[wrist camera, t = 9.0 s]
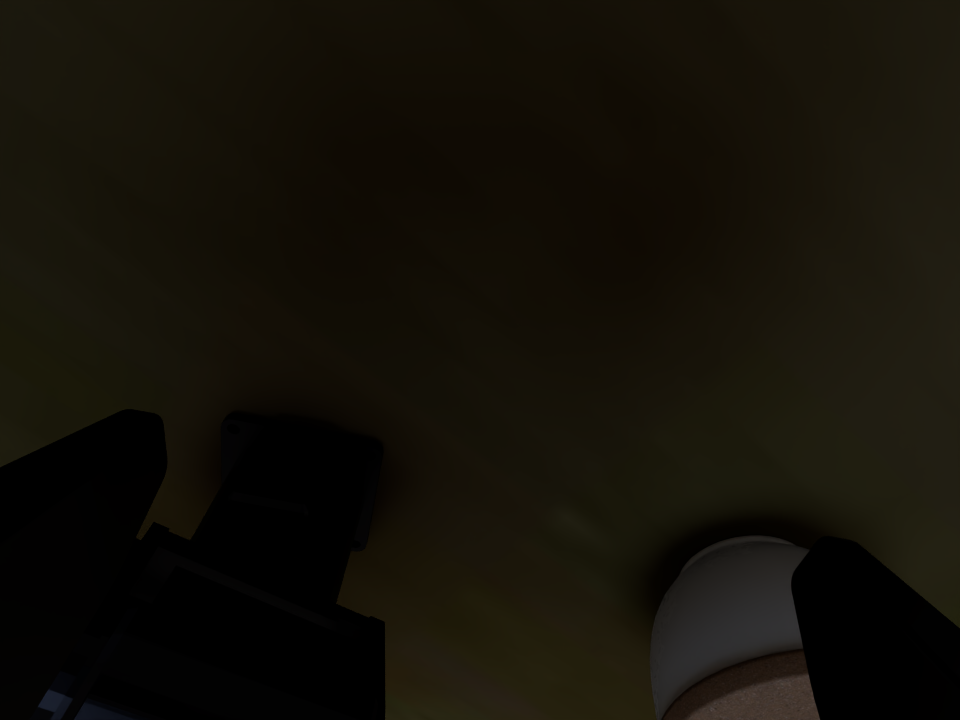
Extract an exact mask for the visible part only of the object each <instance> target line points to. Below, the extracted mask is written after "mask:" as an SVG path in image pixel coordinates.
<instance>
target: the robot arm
mask: <svg viewBox="0 0 960 720" xmlns="http://www.w3.org/2000/svg"><path fill="white" fill-rule="evenodd" d="M232 424H234V425H237V426H238V427H239V428H237V427H234V426H233V425H232ZM367 451H371V452H374V453H375V454H370V453H368V452H367ZM382 457H383V447H382V445H381V444H380V443H378V442H377V441H374V440H369V439H364V438H359V437H354V436H349V435H344V434H339V433H334V432H329V431H324V430H319V429H314V428H309V427H303V426H298V425H293V424H288V423H283V422H278V421H273V420H268V419H263V418H258V417H253V416H248V415H243V414H238V413H232V414H229V415H228V416H226V418H225V419H224V421H223V422H222V425H221V463H222V486H221V488H220V490H219V491H218V493H217V495H216V497H215V498H214V500H213V502H212V503H211V505H210V507H209V509H208V510H207V512H206V514H205V516H204V517H203V519H202V521H201V523H200V524H199V526H198V528H197V530H196V531H195V533H194V535H193V537H192V538H191V540H187V539H185V538H183V537H180V536H178V535H176V534H173V533H171V532H169V531H168V530H169V528H167V527H165V526H162V525H160V524H158V523H155V522H154V523H153V524H152V525H151V527H150V528H149V530H148V531H147V533H146V534H145V535H144V537H143V538H142V540H139V539H136V536H137V534H138V532H139V530H140V528H141V525H142V523H143V521H144V519H145V517H146V515H147V513H148V511H149V509H150V507H151V504H152V502H153V500H154V498H155V496H156V494H157V492H158V490H159V488H160V486H161V484H162V481H163V479H164V477H165V474H166V470H167V451H166V442H165V433H164V424H163V420H162V419H161V417H160V416H159V415H157V414H155V413H150V412H144V411H139V410H133V409H126V410H122V411H120V412H117V413H115V414H113V415H111V416H109V417H107V418H105V419H102V420H100V421H98V422H96V423H94V424H92V425H90V426H87V427H85V428H83V429H81V430H79V431H77V432H75V433H73V434H70V435H68V436H66V437H64V438H62V439H60V440H58V441H55V442H53V443H51V444H49V445H47V446H45V447H43V448H40V449H38V450H36V451H34V452H32V453H30V454H28V455H26V456H23V457H21V458H19V459H17V460H15V461H13V462H11V463H8V464H6V465H4V466H2V467H0V720H385V622H384V621H382V620H379V619H377V618H375V617H372V616H370V617H369V618H368V617H366V616H363V615H361V614H359V613H356V612H354V611H352V610H349V609H347V608H345V607H342V606H340V605H338V604H336V602H337V598H338V595H339V591H340V588H341V584H342V581H343V577H344V573H345V570H346V566H347V563H348V559H349V555H350V552H351V551H362V550H363V549H365V547H366V544H367V540H368V535H369V529H370V524H371V518H372V513H373V507H374V501H375V496H376V490H377V485H378V479H379V473H380V468H381V462H382ZM355 540H356V541H355ZM791 591H792V596H793V601H794V606H795V611H796V616H797V620H798V625H799V630H800V635H801V640H802V645H803V650H804V655H805V660H806V664H807V669H808V674H809V679H810V684H811V688H812V692H813V696H814V700H815V704H816V708H817V711H818V715H819V718H820V720H960V628H959V627H957V626H956V625H955V624H954V623H953V622H951V621H950V620H949V619H948V618H947V617H945V616H944V615H943V614H942V613H941V612H939V611H938V610H937V609H936V608H935V607H933V606H932V605H931V604H930V603H929V602H928V601H926V600H925V599H924V598H923V597H922V596H920V595H919V594H918V593H917V592H916V591H914V590H913V589H912V588H911V587H910V586H908V585H907V584H906V583H905V582H904V581H902V580H901V579H900V578H899V577H898V576H896V575H895V574H894V573H893V572H892V571H890V570H889V569H888V568H887V567H886V566H884V565H883V564H882V563H881V562H880V561H878V560H877V559H876V558H875V557H874V556H873V555H871V554H870V553H869V552H868V551H867V550H865V549H864V548H863V547H862V546H861V545H859V544H858V543H856V542H854V541H852V540H848V539H842V538H837V537H831V536H824V537H822V538H820V539H818V540H817V541H816V543H815V544H814V545H813V546H812V548H811V549H810V550H809V552H808V553H807V554H806V556H805V557H804V558H803V560H802V561H801V562H800V564H799V565H798V566H797V568H796V569H795V570H794V572H793V575H792V579H791Z"/></svg>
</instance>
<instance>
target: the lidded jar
mask: <svg viewBox="0 0 960 720" xmlns="http://www.w3.org/2000/svg"><path fill="white" fill-rule="evenodd" d="M808 552H809V549H806V548H803V547H799V546H796V545H795V544H793V543H791V542H789V541H786V540H784V539H781V538H776V537H772V536H763V535H748V536H739V537H734V538H729V539H726V540H722V541H719V542H716V543H714V544H712V545H710V546H707V547H706V548H704V549H702V550H701V551H699V552H698V553H696V554H695V555H694V556H692V557H691V558H690V559H689V560H688V561H687V562H686V563H685V565H684V566H683V568H682V569H681V571H680V574H679V576H678V578H677V579H676V580H675V581H674V582H673V584H672V585H671V586H670V588H669V589H668V591H667V592H666V594H665V595H664V597H663V599H662V602H661V604H660V606H659V609H658V611H657V613H656V616H655V620H654V625H653V630H652V636H651V646H650V669H651V683H652V691H653V698H654V705H655V711H656V717H657V720H820V718H819V715H818V711H817V708H816V704H815V700H814V696H813V692H812V688H811V684H810V679H809V674H808V669H807V664H806V660H805V655H804V650H803V645H802V640H801V635H800V630H799V625H798V620H797V616H796V611H795V606H794V601H793V596H792V591H791V579H792V575H793V572H794V570H795V569H796V568H797V566H798V565H799V564H800V562H801V561H802V560H803V558H804V557H805V556H806V554H807V553H808Z"/></svg>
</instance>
